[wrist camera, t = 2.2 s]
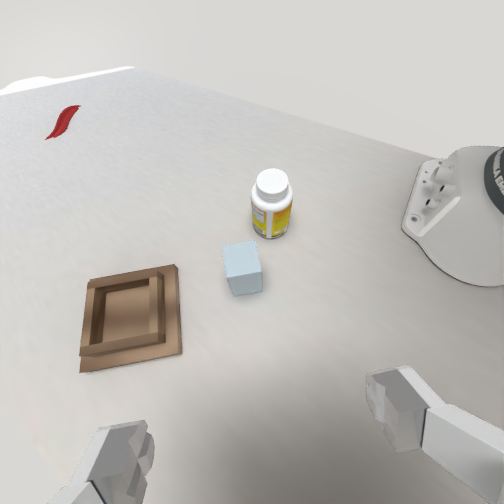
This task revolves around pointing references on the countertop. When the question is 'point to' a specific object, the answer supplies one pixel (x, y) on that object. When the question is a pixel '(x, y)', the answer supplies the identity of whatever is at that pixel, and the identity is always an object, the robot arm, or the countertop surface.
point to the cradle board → (131, 318)
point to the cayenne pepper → (63, 121)
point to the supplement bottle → (271, 203)
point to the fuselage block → (242, 268)
